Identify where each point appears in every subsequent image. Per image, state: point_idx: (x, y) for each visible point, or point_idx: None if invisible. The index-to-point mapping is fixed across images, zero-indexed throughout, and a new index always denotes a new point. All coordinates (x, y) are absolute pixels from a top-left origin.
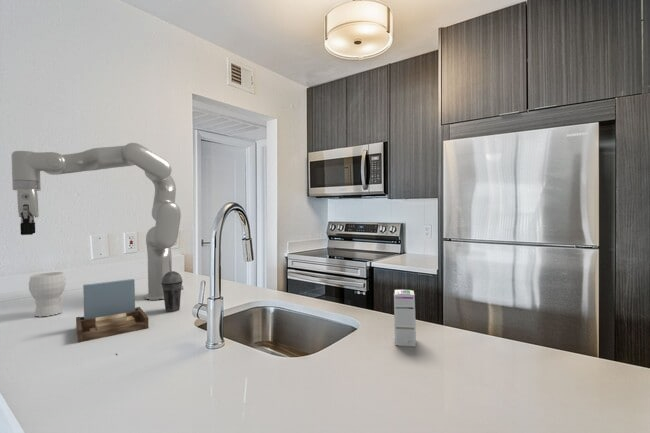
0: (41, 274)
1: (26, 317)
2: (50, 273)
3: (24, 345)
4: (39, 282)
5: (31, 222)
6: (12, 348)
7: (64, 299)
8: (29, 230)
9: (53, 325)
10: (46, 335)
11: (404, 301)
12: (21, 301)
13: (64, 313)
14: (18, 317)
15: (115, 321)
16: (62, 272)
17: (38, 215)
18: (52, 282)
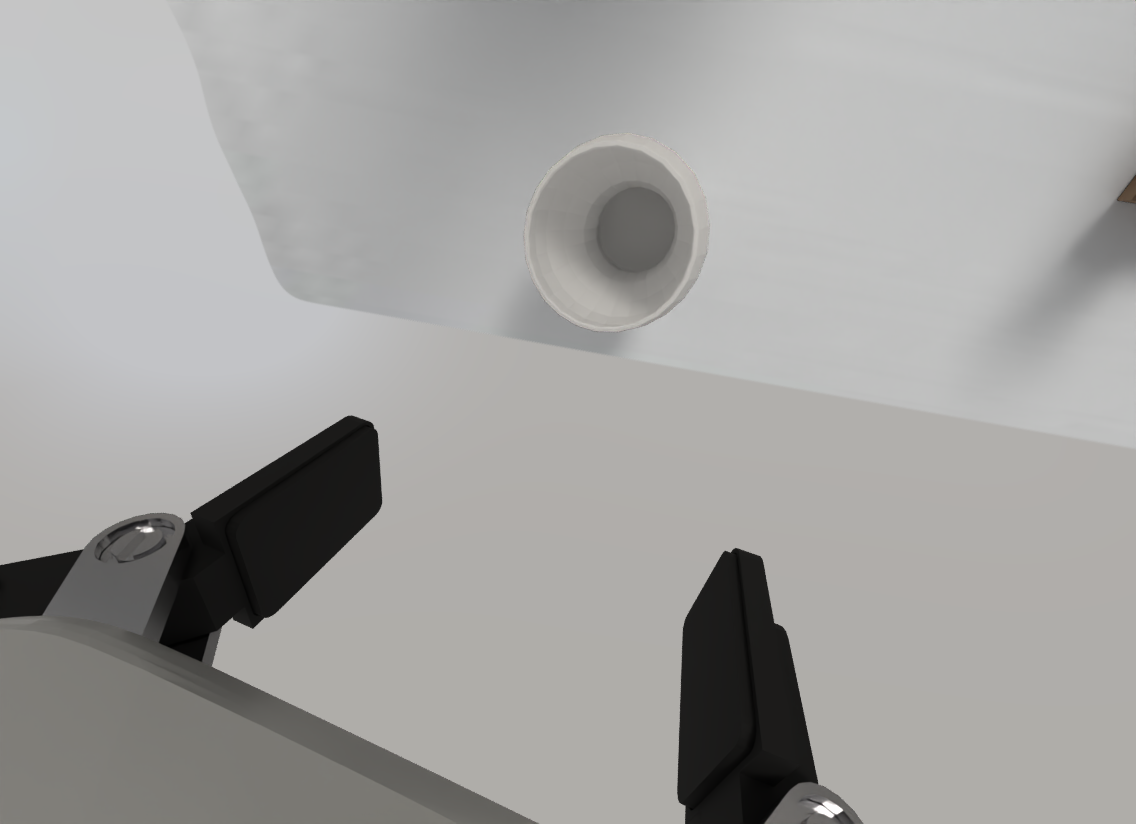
0: (532, 263)
1: None
2: (532, 212)
3: (1045, 384)
4: (682, 298)
5: (845, 815)
6: (1031, 413)
7: (397, 113)
8: (785, 644)
9: (864, 253)
10: (1002, 306)
11: None
12: (336, 263)
13: None
14: None
15: None
16: (601, 143)
17: (88, 699)
18: (708, 233)
